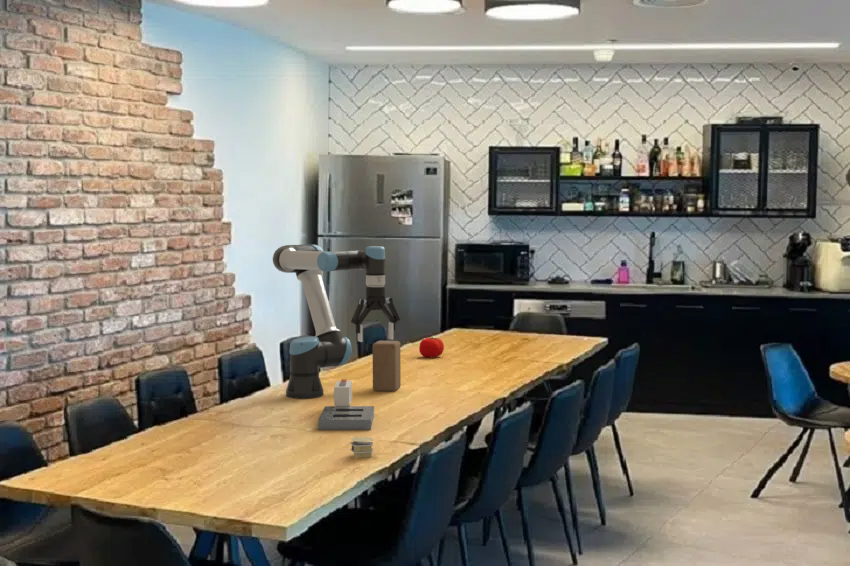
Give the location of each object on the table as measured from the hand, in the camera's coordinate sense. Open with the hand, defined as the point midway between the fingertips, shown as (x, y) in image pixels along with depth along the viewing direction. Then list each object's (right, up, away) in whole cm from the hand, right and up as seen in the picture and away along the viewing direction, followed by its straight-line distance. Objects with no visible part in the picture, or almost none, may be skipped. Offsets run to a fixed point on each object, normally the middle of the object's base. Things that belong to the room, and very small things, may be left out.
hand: (375, 340), depth 406 cm
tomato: (+23, -15, +119) cm, 122 cm away
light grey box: (-11, -25, -15) cm, 31 cm away
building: (0, -32, -84) cm, 90 cm away
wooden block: (+3, -22, +30) cm, 37 cm away
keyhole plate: (-8, -27, -36) cm, 46 cm away
